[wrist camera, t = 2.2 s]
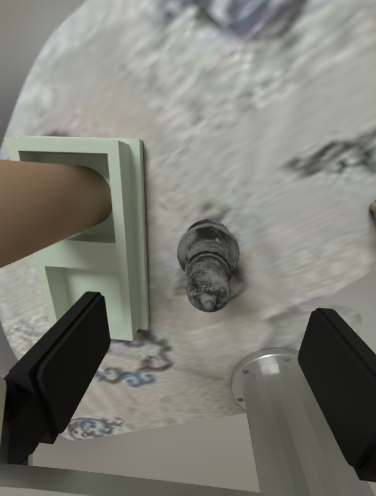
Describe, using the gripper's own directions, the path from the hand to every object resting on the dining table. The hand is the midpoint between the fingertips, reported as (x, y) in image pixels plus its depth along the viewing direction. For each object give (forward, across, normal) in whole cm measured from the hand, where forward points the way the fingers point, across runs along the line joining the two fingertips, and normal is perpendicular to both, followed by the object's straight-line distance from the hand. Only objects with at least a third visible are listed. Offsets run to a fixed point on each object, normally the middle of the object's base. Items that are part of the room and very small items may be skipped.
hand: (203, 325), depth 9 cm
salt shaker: (+14, 0, +1) cm, 14 cm away
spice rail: (+14, +12, +2) cm, 19 cm away
